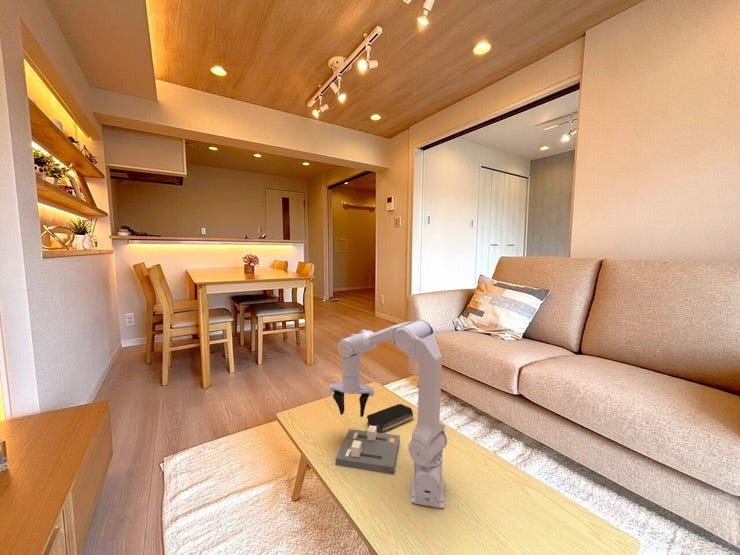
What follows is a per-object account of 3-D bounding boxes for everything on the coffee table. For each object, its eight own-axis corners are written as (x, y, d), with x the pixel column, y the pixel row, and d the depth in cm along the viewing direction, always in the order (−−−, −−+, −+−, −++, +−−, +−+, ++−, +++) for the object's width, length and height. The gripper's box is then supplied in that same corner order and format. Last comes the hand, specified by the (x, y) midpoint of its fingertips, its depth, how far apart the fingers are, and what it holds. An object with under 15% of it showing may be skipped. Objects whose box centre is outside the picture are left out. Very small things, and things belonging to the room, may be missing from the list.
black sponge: (378, 436, 99) (378, 426, 99) (365, 423, 106) (365, 414, 106) (415, 420, 108) (415, 411, 107) (401, 409, 115) (401, 400, 114)
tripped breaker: (374, 440, 93) (374, 432, 93) (367, 439, 94) (367, 431, 93) (376, 434, 96) (376, 426, 96) (369, 433, 97) (369, 425, 96)
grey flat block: (393, 474, 83) (393, 467, 82) (335, 464, 86) (335, 458, 86) (399, 441, 96) (399, 435, 96) (349, 434, 100) (349, 428, 100)
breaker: (359, 457, 86) (358, 448, 86) (351, 456, 87) (351, 446, 86) (361, 450, 89) (361, 441, 89) (354, 449, 90) (353, 440, 89)
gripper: (376, 370, 96) (376, 409, 98) (333, 366, 99) (335, 404, 101) (371, 380, 89) (372, 422, 91) (326, 376, 93) (327, 416, 94)
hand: (352, 414), depth 95 cm, fingers open, 6 cm apart
